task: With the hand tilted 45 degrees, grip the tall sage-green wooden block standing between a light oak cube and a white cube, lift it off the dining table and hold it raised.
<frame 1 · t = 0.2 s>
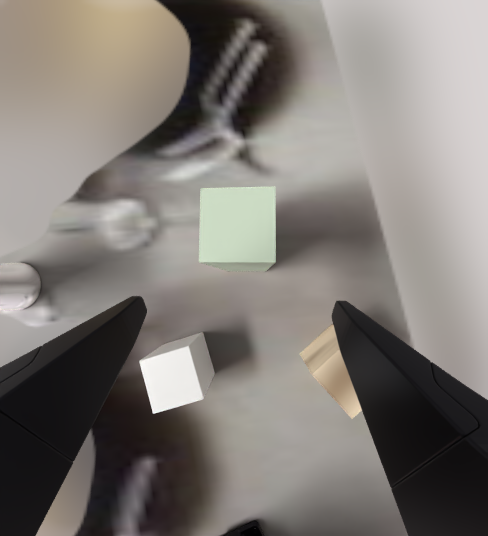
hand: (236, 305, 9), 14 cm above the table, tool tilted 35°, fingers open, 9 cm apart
oak cube: (330, 355, 22), on the table
sage block: (247, 252, 23), on the table
white cube: (189, 358, 23), on the table
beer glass: (21, 286, 25), on the table
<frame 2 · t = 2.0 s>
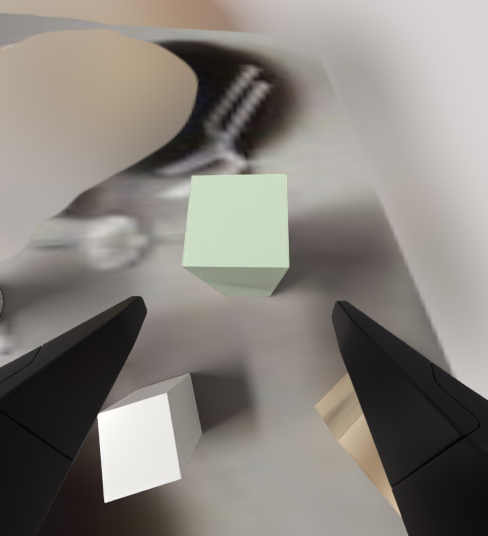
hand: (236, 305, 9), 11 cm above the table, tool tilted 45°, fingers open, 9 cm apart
oak cube: (356, 409, 17), on the table
sage block: (247, 274, 20), on the table
white cube: (169, 409, 18), on the table
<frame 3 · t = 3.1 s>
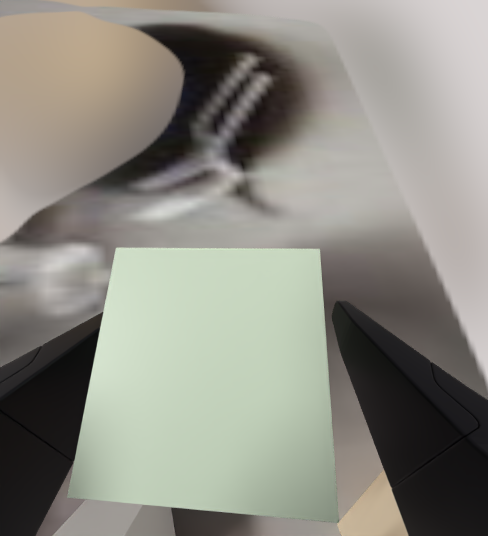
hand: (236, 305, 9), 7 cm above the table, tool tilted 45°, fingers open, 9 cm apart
oak cube: (395, 531, 12), on the table
sage block: (244, 326, 15), on the table
white cube: (136, 522, 13), on the table
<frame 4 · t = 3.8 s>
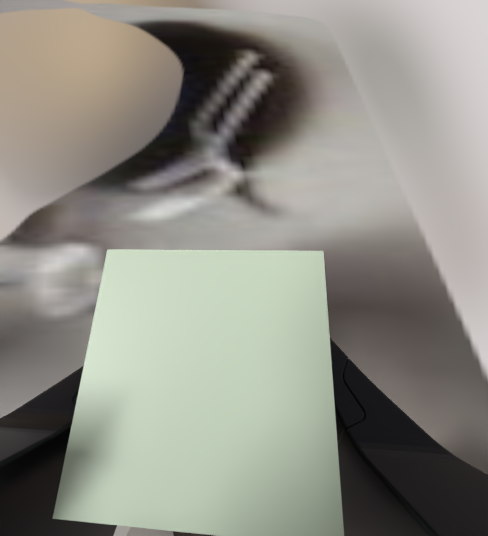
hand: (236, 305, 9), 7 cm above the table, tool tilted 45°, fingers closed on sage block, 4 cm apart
sage block: (243, 327, 15), on the table, touching gripper
white cube: (134, 527, 13), on the table
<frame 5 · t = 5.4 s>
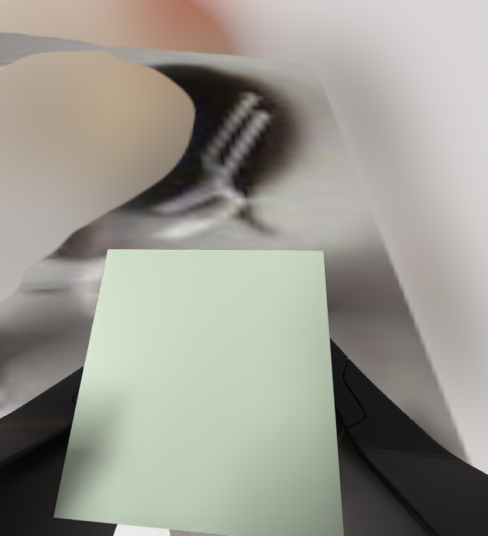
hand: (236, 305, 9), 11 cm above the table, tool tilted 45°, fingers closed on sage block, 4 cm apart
sage block: (243, 327, 15), point 4 cm above the table, touching gripper
white cube: (165, 472, 17), on the table
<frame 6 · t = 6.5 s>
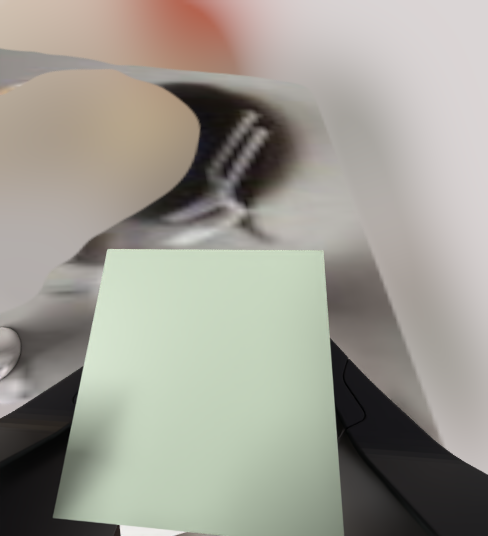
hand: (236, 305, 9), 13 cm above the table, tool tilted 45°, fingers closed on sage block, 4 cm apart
sage block: (243, 327, 15), point 7 cm above the table, touching gripper
white cube: (176, 452, 19), on the table
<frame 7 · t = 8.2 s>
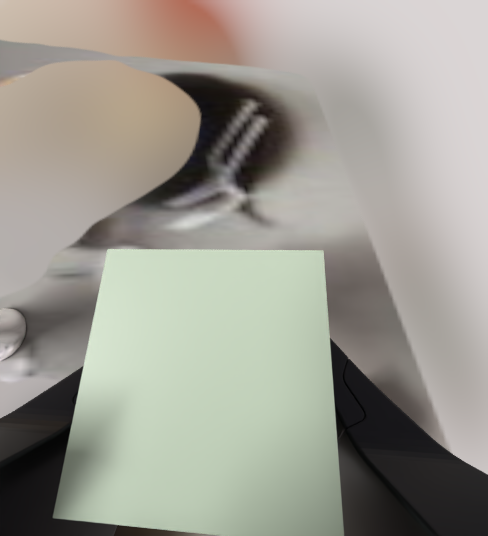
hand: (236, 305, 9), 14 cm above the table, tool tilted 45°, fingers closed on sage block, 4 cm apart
sage block: (243, 327, 15), point 7 cm above the table, touching gripper
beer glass: (4, 334, 23), on the table
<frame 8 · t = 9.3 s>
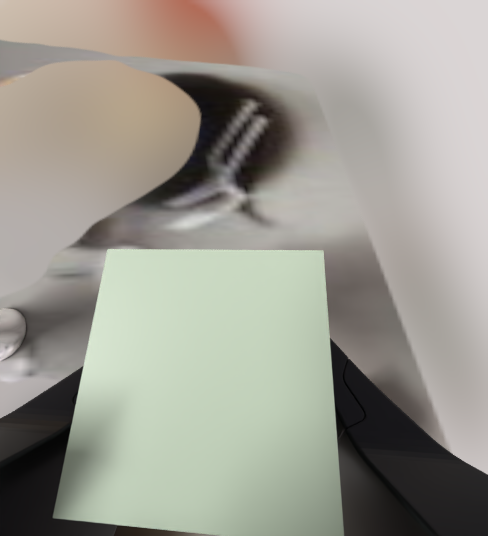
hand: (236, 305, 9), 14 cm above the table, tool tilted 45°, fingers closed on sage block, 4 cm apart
sage block: (243, 327, 15), point 7 cm above the table, touching gripper
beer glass: (4, 334, 23), on the table
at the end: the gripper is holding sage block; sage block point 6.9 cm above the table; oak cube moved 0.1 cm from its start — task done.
